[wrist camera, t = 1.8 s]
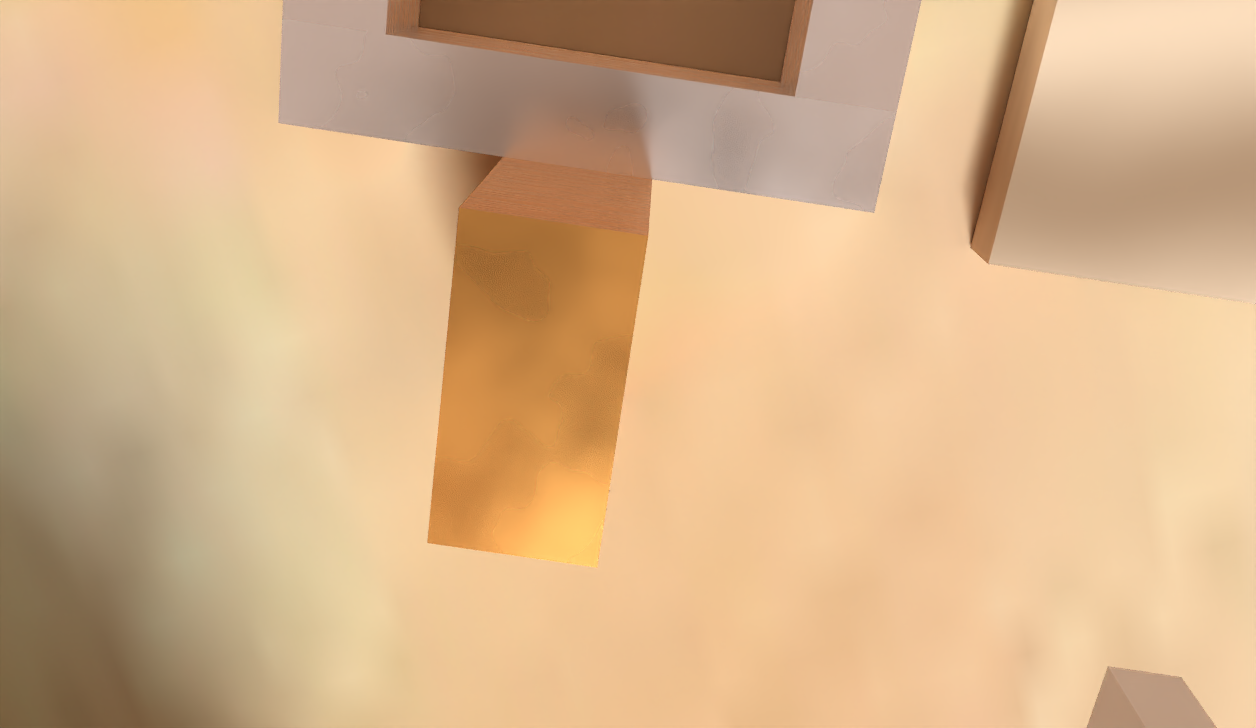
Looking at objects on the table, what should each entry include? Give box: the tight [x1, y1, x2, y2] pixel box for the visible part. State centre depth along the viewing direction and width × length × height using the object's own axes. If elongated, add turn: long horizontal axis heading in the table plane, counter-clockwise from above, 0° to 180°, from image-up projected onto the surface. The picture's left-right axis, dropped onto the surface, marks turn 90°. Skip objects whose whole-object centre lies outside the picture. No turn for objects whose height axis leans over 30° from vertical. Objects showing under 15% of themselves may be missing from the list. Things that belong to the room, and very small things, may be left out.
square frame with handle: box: [279, 0, 921, 567], centre depth 20 cm, size 18×12×8 cm, turn 172°
